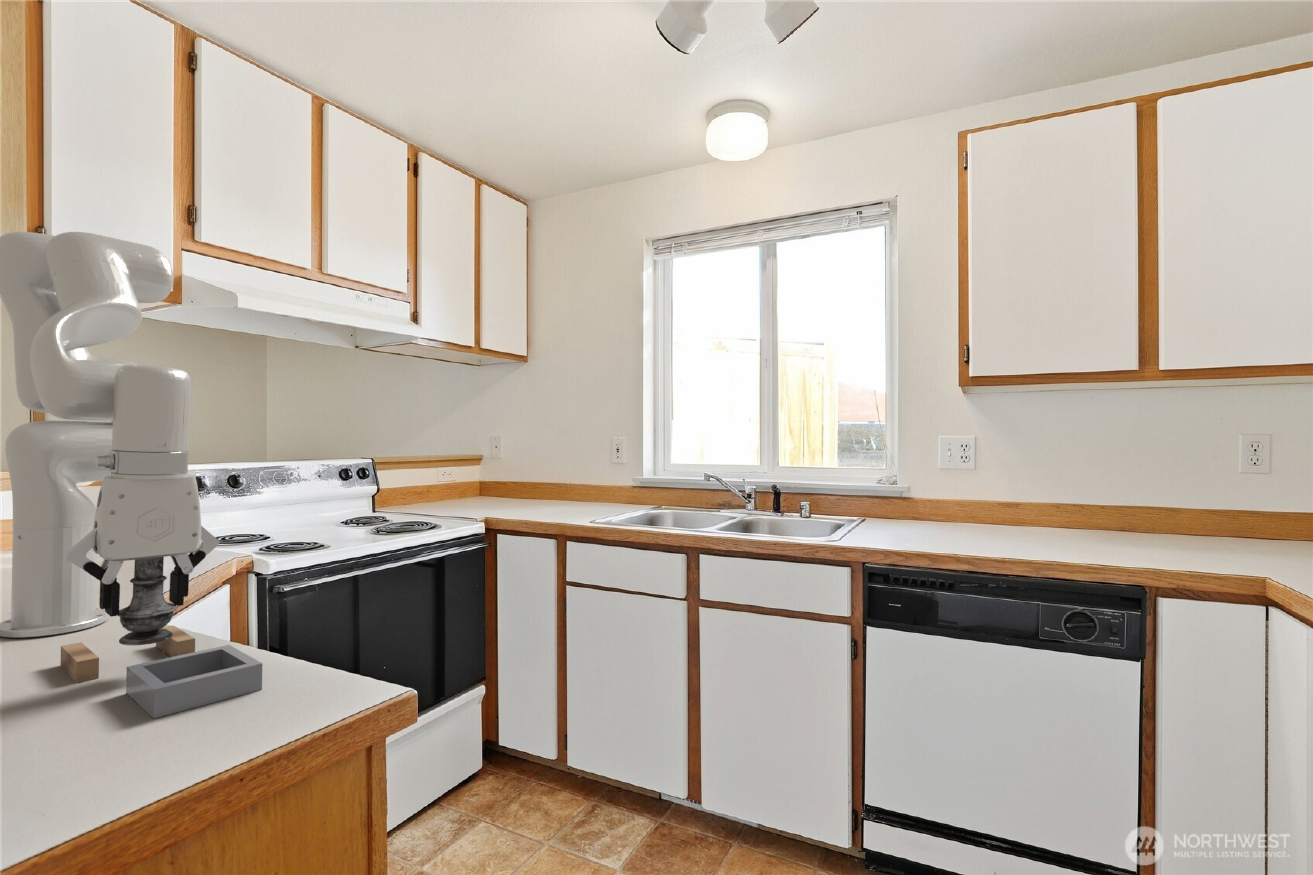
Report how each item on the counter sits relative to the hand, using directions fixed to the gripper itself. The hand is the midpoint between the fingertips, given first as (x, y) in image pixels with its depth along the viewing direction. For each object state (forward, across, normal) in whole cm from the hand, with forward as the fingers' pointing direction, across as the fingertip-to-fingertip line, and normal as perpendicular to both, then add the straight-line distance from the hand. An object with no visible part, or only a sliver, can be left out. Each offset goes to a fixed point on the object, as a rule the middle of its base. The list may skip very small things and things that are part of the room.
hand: (145, 606), depth 80 cm
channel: (+9, 0, +6) cm, 11 cm away
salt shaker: (+4, 0, -1) cm, 4 cm away
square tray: (+8, +2, -12) cm, 14 cm away
